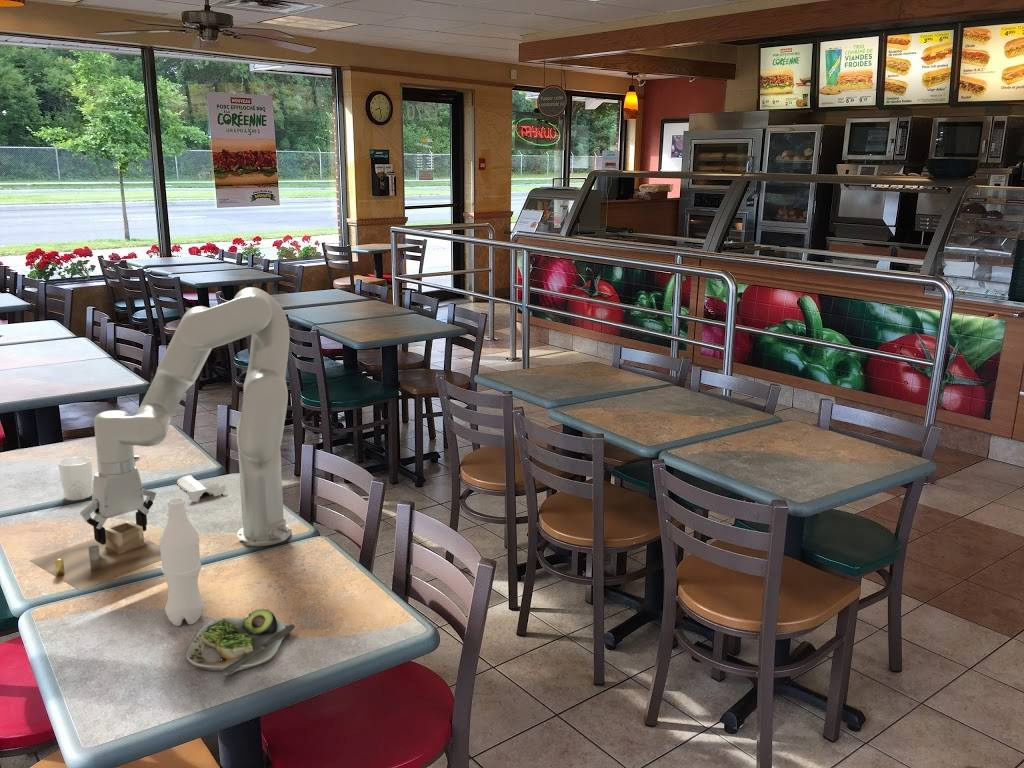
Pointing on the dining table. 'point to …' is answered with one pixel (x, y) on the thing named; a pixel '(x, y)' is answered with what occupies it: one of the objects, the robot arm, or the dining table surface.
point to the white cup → (76, 477)
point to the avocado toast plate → (239, 641)
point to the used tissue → (199, 488)
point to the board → (106, 560)
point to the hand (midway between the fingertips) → (121, 535)
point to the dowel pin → (59, 567)
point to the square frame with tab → (124, 536)
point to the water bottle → (181, 565)
